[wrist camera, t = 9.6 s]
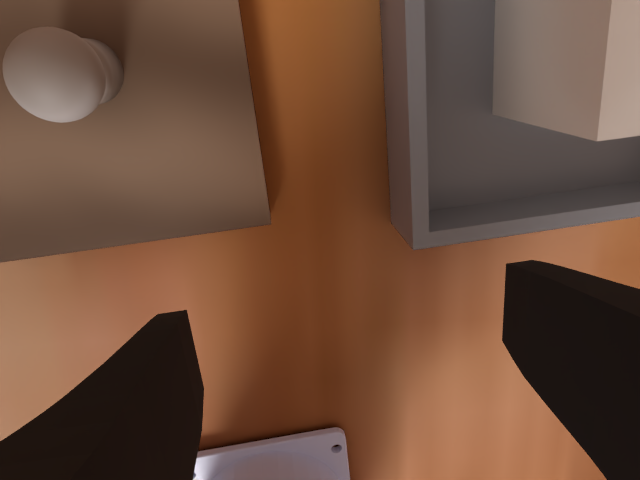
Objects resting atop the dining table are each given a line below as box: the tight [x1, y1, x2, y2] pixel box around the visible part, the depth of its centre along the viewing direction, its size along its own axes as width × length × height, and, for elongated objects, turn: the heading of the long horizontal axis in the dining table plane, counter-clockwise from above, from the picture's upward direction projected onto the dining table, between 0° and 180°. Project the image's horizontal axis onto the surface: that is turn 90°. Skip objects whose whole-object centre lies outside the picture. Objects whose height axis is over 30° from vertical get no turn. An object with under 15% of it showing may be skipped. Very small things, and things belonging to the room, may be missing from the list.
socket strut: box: [492, 0, 640, 141], centre depth 15 cm, size 4×4×6 cm
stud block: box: [0, 0, 271, 262], centre depth 14 cm, size 12×10×5 cm
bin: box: [380, 0, 640, 250], centre depth 17 cm, size 12×12×3 cm
